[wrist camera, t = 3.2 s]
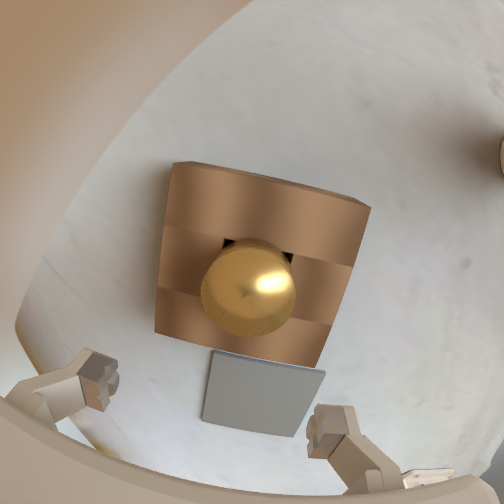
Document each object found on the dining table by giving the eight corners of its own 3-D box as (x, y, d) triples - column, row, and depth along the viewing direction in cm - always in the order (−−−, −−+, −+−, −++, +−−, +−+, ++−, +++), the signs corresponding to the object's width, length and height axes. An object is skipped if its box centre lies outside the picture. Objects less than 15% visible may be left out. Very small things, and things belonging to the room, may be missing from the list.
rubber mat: (325, 371, 30) (325, 374, 29) (293, 434, 33) (293, 437, 33) (214, 350, 30) (213, 352, 29) (202, 418, 34) (201, 420, 33)
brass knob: (297, 231, 25) (306, 264, 18) (280, 294, 27) (281, 345, 20) (228, 216, 25) (208, 242, 18) (216, 279, 27) (195, 325, 20)
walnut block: (354, 198, 24) (371, 207, 19) (310, 337, 28) (314, 368, 24) (191, 161, 24) (173, 162, 19) (171, 306, 28) (154, 332, 24)
